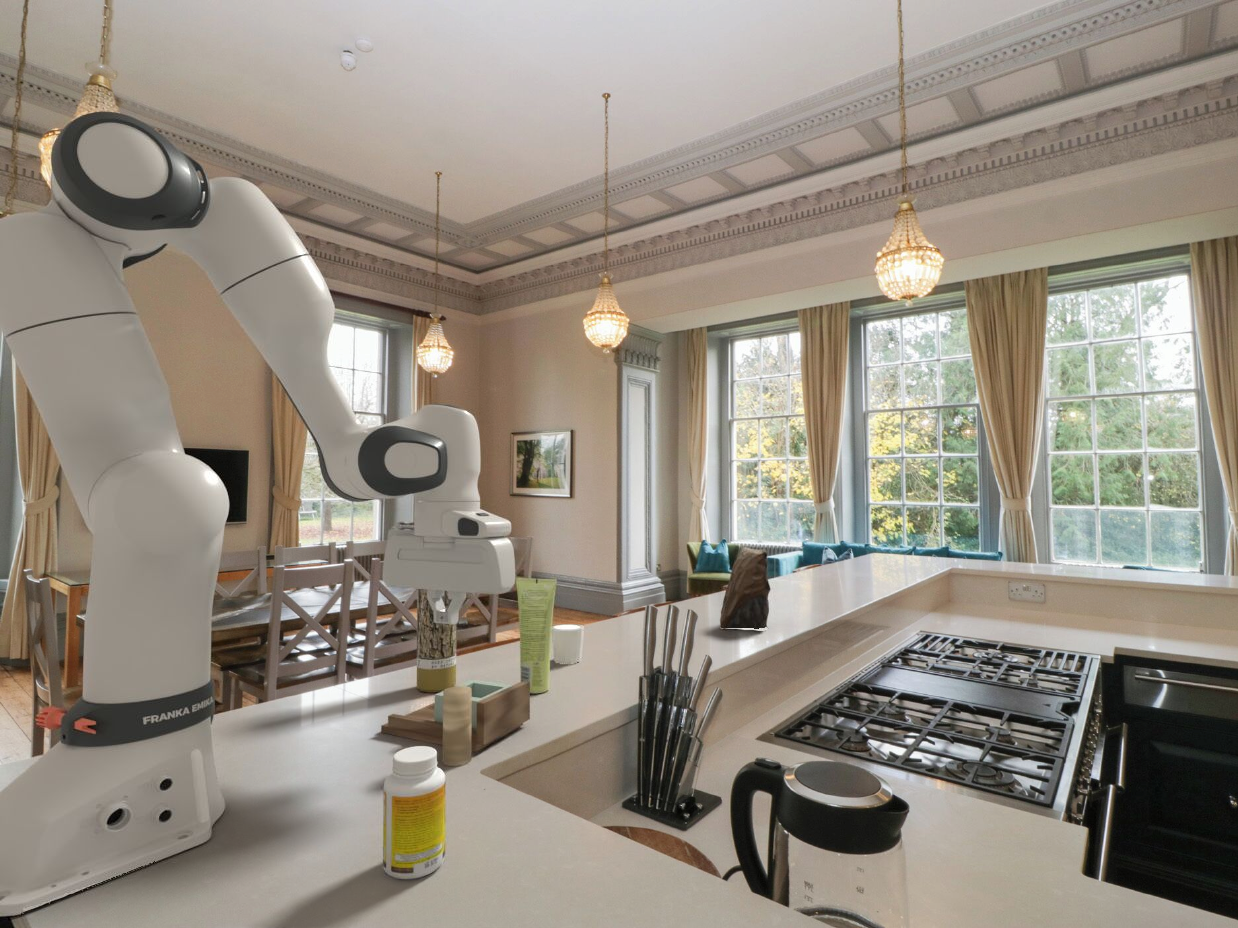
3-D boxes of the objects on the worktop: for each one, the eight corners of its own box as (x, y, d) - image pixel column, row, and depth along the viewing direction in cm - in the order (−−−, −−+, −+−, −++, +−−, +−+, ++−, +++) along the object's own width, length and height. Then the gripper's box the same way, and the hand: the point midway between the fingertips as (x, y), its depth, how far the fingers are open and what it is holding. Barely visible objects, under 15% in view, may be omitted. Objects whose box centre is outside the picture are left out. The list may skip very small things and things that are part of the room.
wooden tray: (483, 752, 88) (483, 703, 88) (381, 732, 96) (381, 687, 96) (529, 725, 98) (529, 681, 99) (433, 709, 106) (433, 668, 106)
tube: (545, 684, 120) (545, 575, 121) (557, 691, 115) (557, 578, 116) (515, 688, 117) (515, 577, 118) (526, 696, 112) (527, 580, 113)
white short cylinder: (547, 658, 138) (547, 624, 139) (579, 655, 140) (579, 622, 141) (554, 666, 132) (554, 631, 132) (588, 663, 134) (588, 628, 134)
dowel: (459, 767, 83) (459, 695, 84) (436, 763, 85) (437, 692, 85) (476, 757, 87) (477, 687, 87) (455, 753, 88) (455, 684, 89)
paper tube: (461, 682, 121) (462, 545, 122) (448, 694, 114) (448, 548, 115) (425, 681, 121) (426, 545, 122) (410, 693, 115) (411, 548, 116)
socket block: (482, 739, 90) (482, 702, 90) (434, 730, 94) (434, 694, 94) (517, 720, 98) (517, 685, 98) (471, 712, 101) (471, 679, 101)
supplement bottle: (456, 864, 62) (457, 752, 62) (402, 890, 58) (402, 771, 58) (425, 842, 66) (425, 738, 66) (371, 866, 62) (372, 754, 62)
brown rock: (736, 620, 178) (735, 545, 179) (782, 625, 171) (781, 547, 172) (717, 628, 167) (716, 549, 168) (765, 634, 160) (764, 551, 161)
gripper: (373, 522, 93) (371, 621, 92) (495, 524, 85) (494, 633, 84) (404, 520, 99) (402, 614, 98) (521, 522, 91) (520, 624, 90)
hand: (446, 623), depth 91 cm, fingers closed
